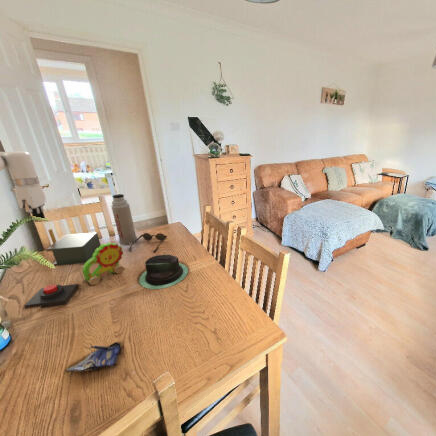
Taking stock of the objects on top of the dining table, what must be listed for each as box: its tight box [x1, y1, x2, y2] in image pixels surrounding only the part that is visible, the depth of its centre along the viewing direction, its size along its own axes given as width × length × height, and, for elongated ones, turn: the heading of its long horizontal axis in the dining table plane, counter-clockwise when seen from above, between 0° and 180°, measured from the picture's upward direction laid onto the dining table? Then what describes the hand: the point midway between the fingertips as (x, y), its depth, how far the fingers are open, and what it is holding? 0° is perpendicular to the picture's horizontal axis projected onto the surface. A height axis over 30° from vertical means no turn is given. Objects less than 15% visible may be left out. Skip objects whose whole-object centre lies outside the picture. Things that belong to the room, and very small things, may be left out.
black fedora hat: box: [138, 253, 189, 290], centre depth 110 cm, size 15×19×20 cm
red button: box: [43, 284, 58, 294], centre depth 92 cm, size 4×4×2 cm
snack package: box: [65, 342, 122, 373], centre depth 70 cm, size 12×6×12 cm
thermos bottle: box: [111, 193, 138, 246], centre depth 132 cm, size 8×8×28 cm
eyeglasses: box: [129, 232, 168, 253], centre depth 133 cm, size 15×15×5 cm
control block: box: [23, 283, 80, 309], centre depth 93 cm, size 12×10×4 cm
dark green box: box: [45, 231, 102, 267], centre depth 120 cm, size 14×16×9 cm
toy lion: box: [82, 242, 124, 286], centre depth 105 cm, size 16×5×15 cm, turn 155°
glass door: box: [47, 228, 57, 244], centre depth 120 cm, size 3×7×14 cm, turn 17°
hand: (40, 220), depth 109 cm, fingers closed
